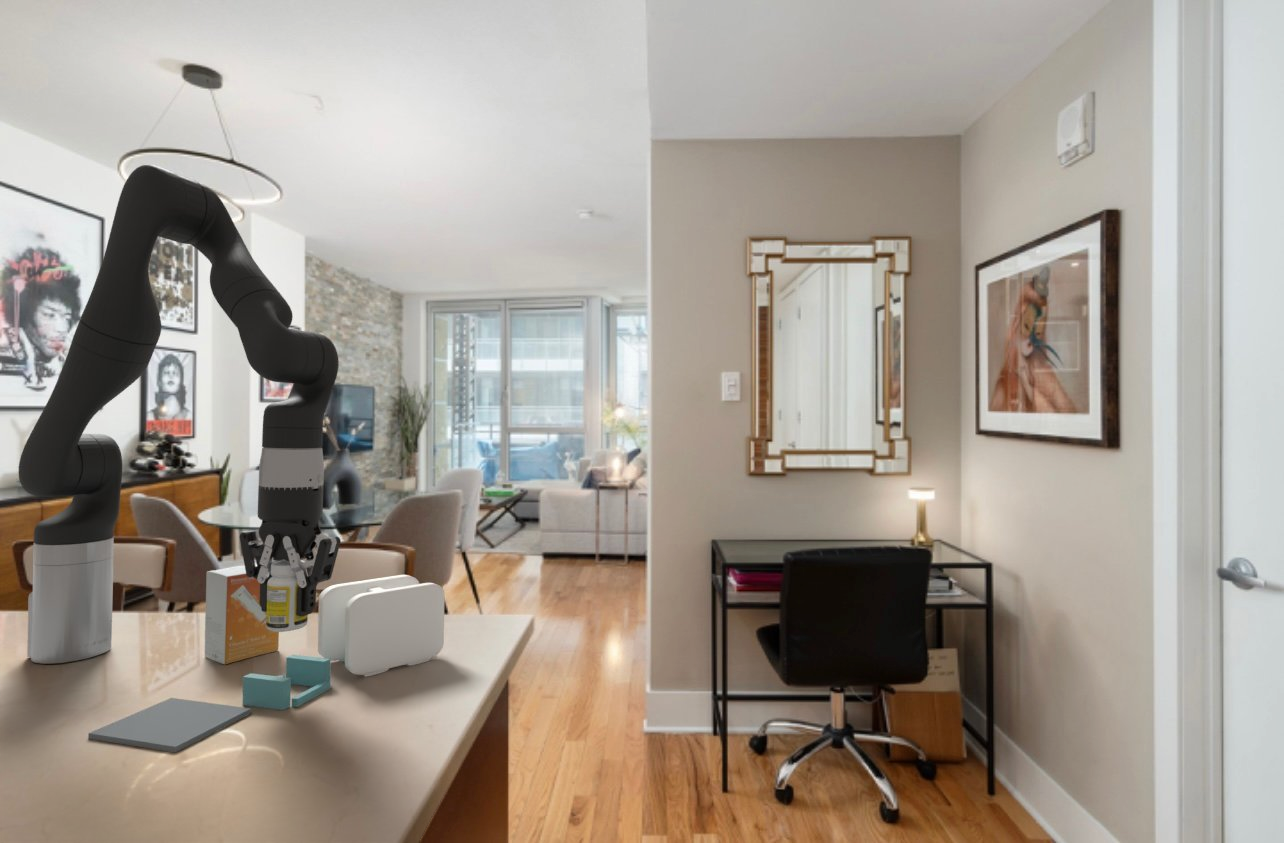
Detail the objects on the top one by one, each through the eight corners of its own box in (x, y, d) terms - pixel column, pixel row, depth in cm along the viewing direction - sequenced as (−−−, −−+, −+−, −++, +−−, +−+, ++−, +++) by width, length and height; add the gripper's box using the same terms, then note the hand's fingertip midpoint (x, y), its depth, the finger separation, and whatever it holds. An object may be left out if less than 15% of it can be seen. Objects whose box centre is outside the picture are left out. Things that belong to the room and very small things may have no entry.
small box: (224, 666, 96) (226, 576, 97) (203, 657, 100) (205, 570, 100) (280, 650, 103) (281, 566, 103) (258, 642, 107) (260, 561, 107)
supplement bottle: (303, 619, 90) (304, 557, 90) (311, 628, 86) (313, 563, 86) (262, 625, 87) (264, 561, 87) (269, 634, 83) (271, 568, 83)
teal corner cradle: (235, 703, 83) (236, 675, 83) (286, 679, 92) (286, 653, 92) (289, 711, 82) (290, 682, 82) (336, 685, 90) (336, 659, 90)
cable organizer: (342, 684, 90) (343, 599, 90) (315, 663, 98) (317, 584, 98) (444, 659, 101) (445, 582, 101) (413, 642, 108) (414, 570, 108)
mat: (88, 738, 74) (88, 733, 74) (171, 702, 84) (171, 697, 84) (175, 752, 71) (175, 746, 71) (250, 713, 81) (250, 708, 81)
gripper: (222, 481, 85) (217, 615, 85) (318, 487, 81) (313, 626, 81) (268, 477, 92) (264, 600, 92) (357, 482, 89) (353, 610, 89)
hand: (287, 612), depth 87 cm, fingers closed on supplement bottle, 4 cm apart
